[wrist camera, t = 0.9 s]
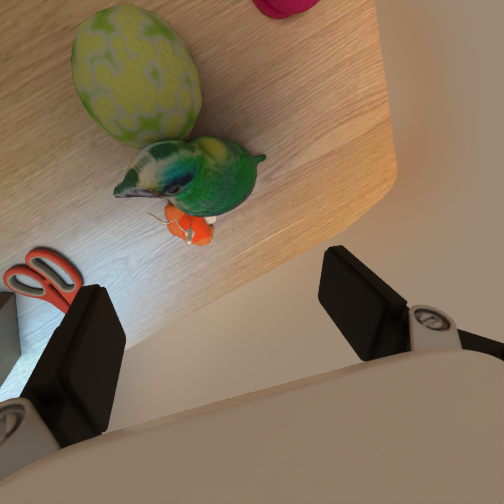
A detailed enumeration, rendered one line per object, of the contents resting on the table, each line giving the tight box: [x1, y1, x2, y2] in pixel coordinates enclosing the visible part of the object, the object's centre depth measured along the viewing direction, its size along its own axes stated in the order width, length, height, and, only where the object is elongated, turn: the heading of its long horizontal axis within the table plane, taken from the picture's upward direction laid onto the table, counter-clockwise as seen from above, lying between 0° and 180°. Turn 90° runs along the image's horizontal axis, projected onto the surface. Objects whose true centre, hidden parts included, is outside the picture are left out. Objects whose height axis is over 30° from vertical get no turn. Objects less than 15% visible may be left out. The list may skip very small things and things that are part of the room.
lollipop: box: [147, 203, 216, 246], centre depth 27 cm, size 6×10×12 cm, turn 33°
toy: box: [113, 136, 266, 217], centre depth 25 cm, size 12×8×15 cm
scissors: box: [3, 249, 82, 314], centre depth 35 cm, size 8×21×2 cm, turn 22°
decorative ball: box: [71, 4, 202, 149], centre depth 21 cm, size 10×10×10 cm
